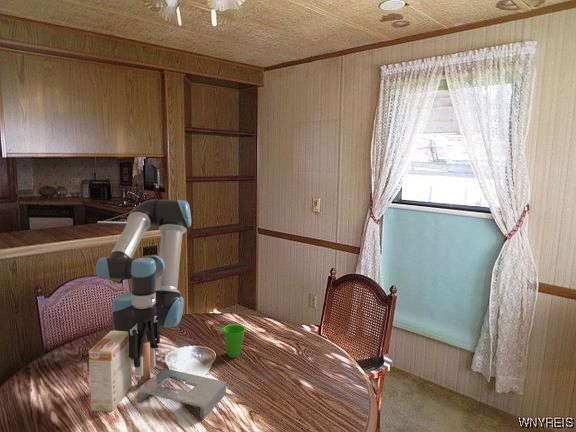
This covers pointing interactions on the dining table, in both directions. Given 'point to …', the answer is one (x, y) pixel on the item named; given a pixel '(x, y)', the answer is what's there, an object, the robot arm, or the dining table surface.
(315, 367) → the dining table surface
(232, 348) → the cup
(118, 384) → the coffeecake box
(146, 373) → the headed peg
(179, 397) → the keyhole plate
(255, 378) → the dining table surface
